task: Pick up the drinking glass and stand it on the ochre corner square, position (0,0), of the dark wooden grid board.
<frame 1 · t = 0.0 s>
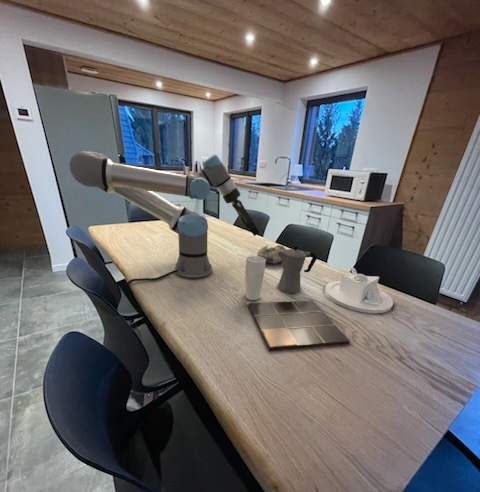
hand: (252, 230, 126), 15 cm above the table, tool tilted 35°, fingers open, 13 cm apart
board: (293, 323, 83), on the table
coffeepot: (291, 288, 106), on the table
geode: (271, 261, 135), on the table
drinking glass: (252, 297, 97), on the table
dish: (357, 297, 104), on the table
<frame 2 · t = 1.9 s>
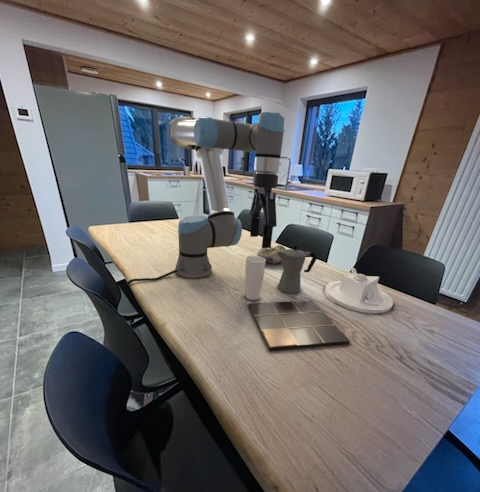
hand: (259, 241, 89), 21 cm above the table, tool pointing down, fingers open, 13 cm apart
nothing on the table moved.
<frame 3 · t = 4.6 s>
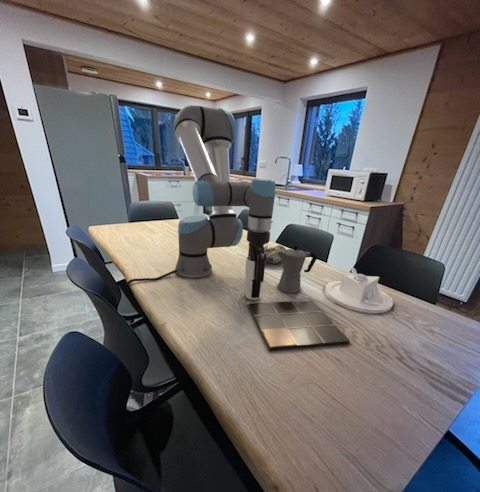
hand: (252, 292, 96), 2 cm above the table, tool pointing down, fingers closed on drinking glass, 6 cm apart
drinking glass: (252, 297, 97), on the table, touching gripper
everything else where it was.
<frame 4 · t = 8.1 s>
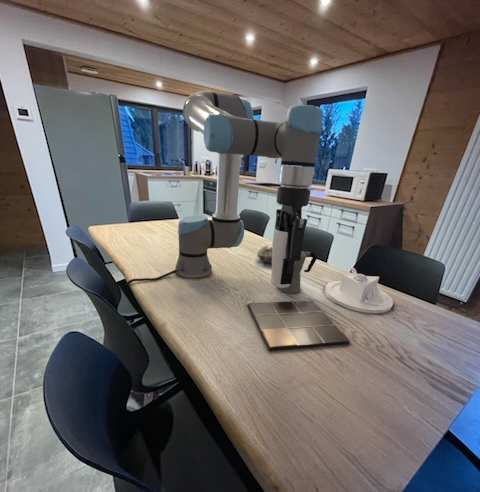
hand: (281, 278, 71), 17 cm above the table, tool pointing down, fingers closed on drinking glass, 6 cm apart
drinking glass: (280, 285, 72), point 15 cm above the table, touching gripper
everything else where it was.
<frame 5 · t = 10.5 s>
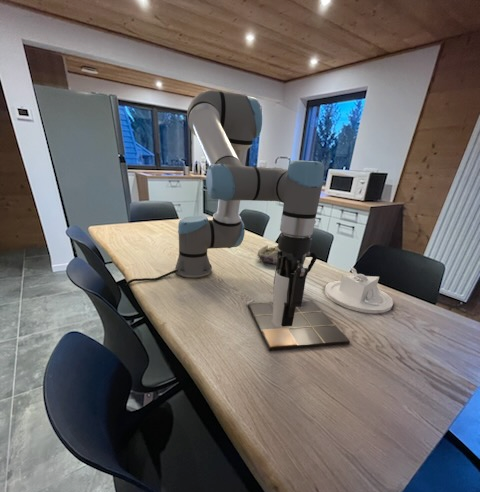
hand: (282, 318, 71), 7 cm above the table, tool pointing down, fingers closed on drinking glass, 6 cm apart
drinking glass: (281, 324, 72), point 5 cm above the table, touching gripper
everything else where it was.
when the fingers open (3 cm above the table, at t = 11.8 s): drinking glass stays where it is, resting on board.
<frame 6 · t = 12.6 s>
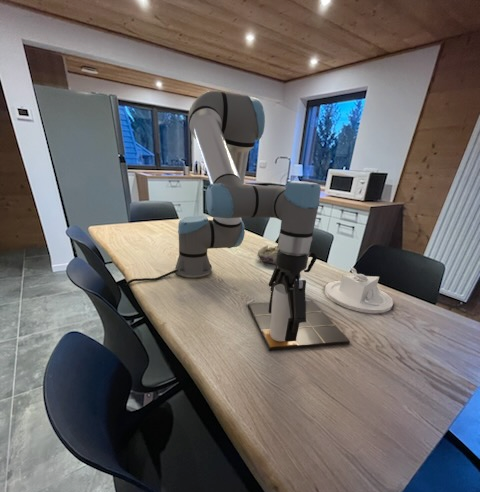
hand: (281, 325, 72), 5 cm above the table, tool pointing down, fingers open, 13 cm apart
drinking glass: (278, 337, 74), point 1 cm above the table, touching board
everything else where it was.
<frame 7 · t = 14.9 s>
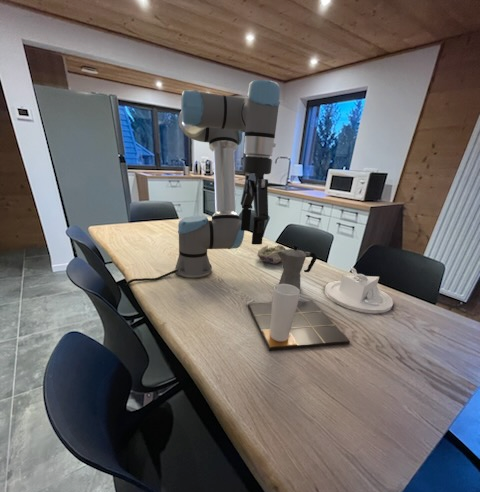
hand: (250, 236, 78), 25 cm above the table, tool pointing down, fingers open, 13 cm apart
nothing on the table moved.
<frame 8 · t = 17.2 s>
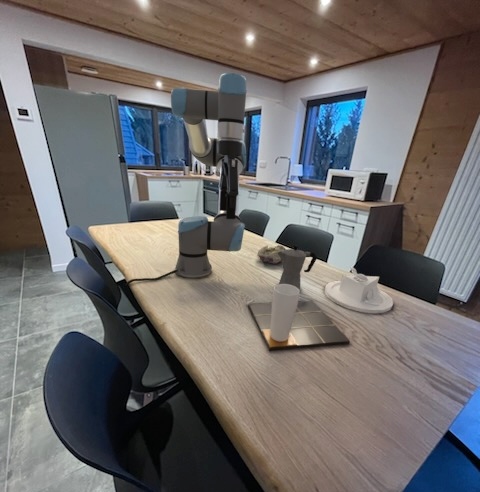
hand: (226, 214, 87), 29 cm above the table, tool pointing down, fingers open, 13 cm apart
nothing on the table moved.
at the end: drinking glass 0.1 cm from the target spot on the board, point 1.0 cm above the board's base; drinking glass tilted 0°; the gripper is holding nothing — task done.
